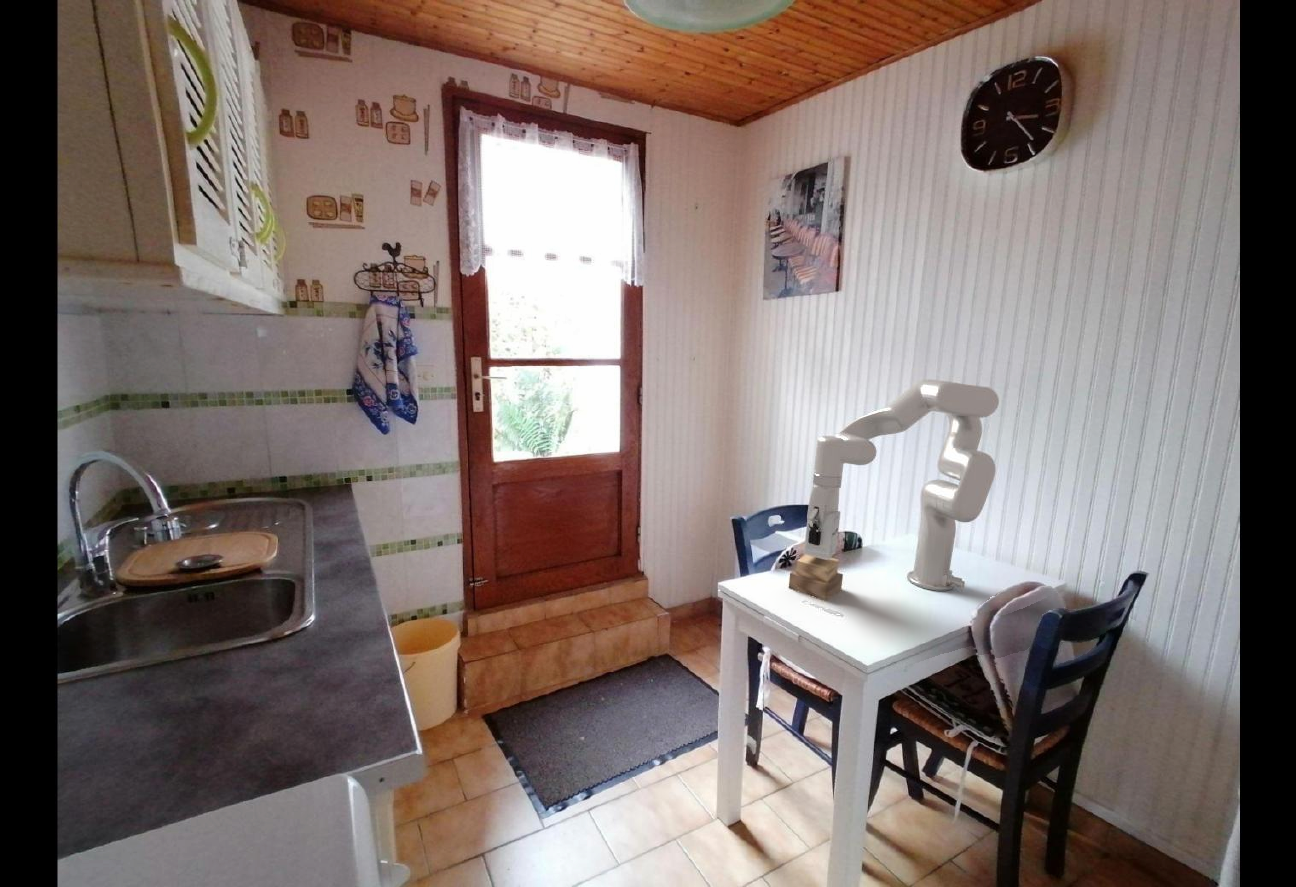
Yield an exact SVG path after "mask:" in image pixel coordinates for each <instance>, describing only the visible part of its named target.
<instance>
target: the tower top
mask: <svg viewBox="0 0 1296 887" xmlns="http://www.w3.org/2000/svg"><path fill="white" fill-rule="evenodd" d="M839 562H840V561H839V559H836V558H832V557H831V558H830V559H829V560H825V559H821V558H817V557H813V556H809V555H805V554H803V556H801V557H800V558H798V560H797V561H796V569H795V570H796V574H798V575H801V576H805V577H808V578H812V579H815V580H819V581H822V582H826V583H828V582H829V581H830V580H831V579H832V578H833V577H834V576H835V575H836V574H837V572H838V571H839V569H838V568H839Z"/></svg>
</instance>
